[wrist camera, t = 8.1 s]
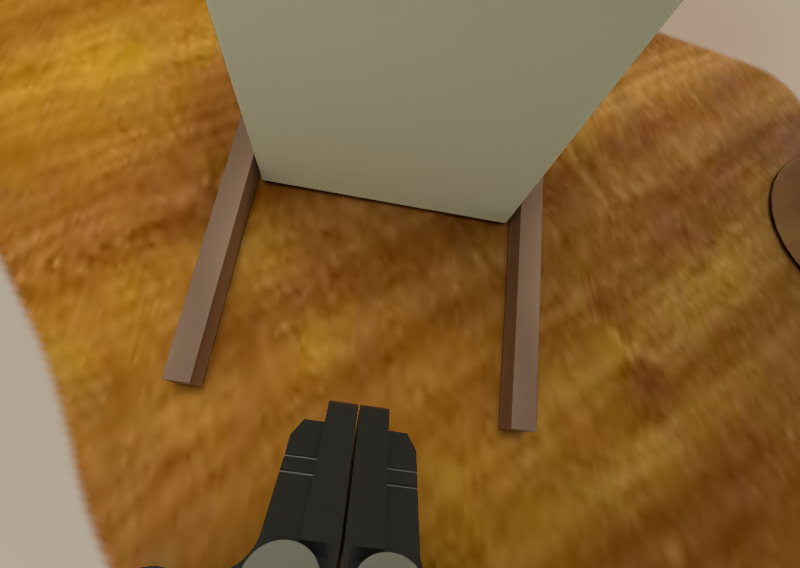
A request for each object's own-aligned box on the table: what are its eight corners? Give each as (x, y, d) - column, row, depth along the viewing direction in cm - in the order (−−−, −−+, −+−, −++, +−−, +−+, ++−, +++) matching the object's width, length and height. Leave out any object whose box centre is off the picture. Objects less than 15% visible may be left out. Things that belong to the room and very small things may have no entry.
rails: (535, 49, 25) (551, 18, 24) (521, 431, 19) (541, 432, 17) (287, -3, 24) (283, -39, 22) (175, 382, 18) (156, 377, 16)
